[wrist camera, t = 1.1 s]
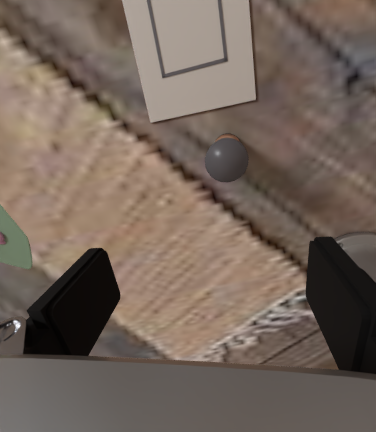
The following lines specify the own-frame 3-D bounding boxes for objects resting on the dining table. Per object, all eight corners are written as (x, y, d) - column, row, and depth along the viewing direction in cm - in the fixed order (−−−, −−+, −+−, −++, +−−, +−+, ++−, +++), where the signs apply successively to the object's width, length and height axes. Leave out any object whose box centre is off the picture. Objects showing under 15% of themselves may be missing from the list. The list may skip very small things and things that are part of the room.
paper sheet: (241, -102, 23) (241, -106, 23) (255, 99, 30) (256, 99, 30) (111, -48, 27) (110, -51, 26) (151, 122, 33) (150, 122, 33)
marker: (240, 130, 32) (246, 135, 21) (243, 159, 33) (250, 179, 22) (210, 135, 33) (201, 143, 22) (214, 164, 34) (208, 185, 23)
